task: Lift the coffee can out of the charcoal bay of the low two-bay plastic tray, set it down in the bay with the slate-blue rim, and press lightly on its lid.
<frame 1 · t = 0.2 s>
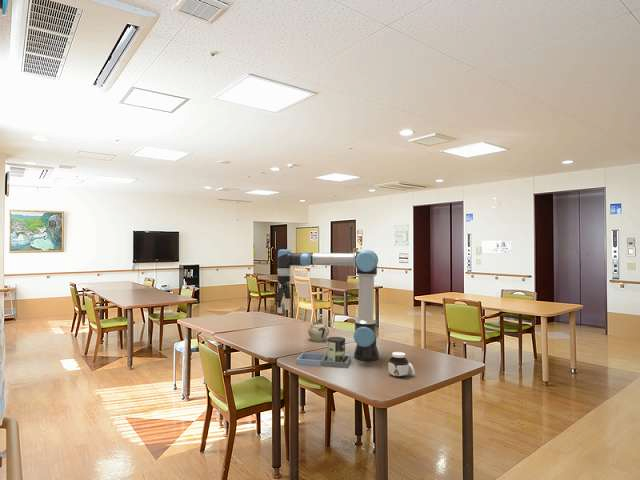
hand: (283, 311, 246), 28 cm above the table, tool pointing down, fingers open, 13 cm apart
sugar bowl: (318, 340, 293), on the table
spread jar: (402, 376, 216), on the table
bay tray: (323, 362, 238), on the table
coffee can: (335, 363, 237), resting in bay tray
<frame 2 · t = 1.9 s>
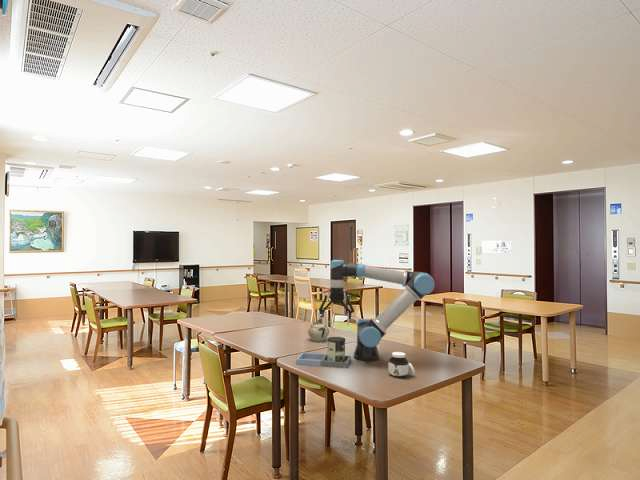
hand: (336, 324, 237), 22 cm above the table, tool pointing down, fingers open, 13 cm apart
nothing on the table moved.
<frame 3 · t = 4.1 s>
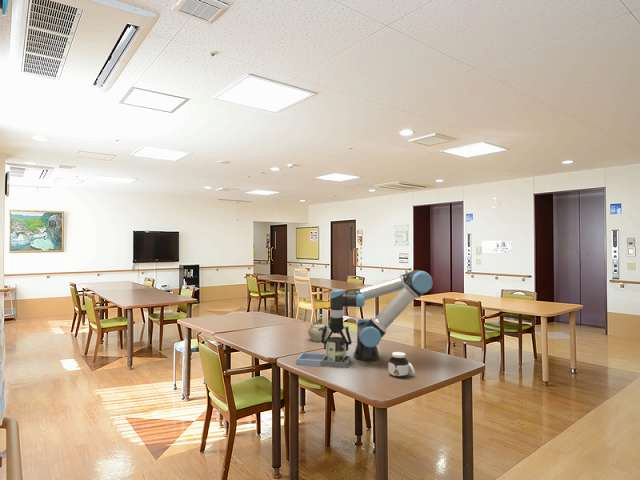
hand: (336, 355, 237), 4 cm above the table, tool pointing down, fingers closed on coffee can, 10 cm apart
coffee can: (335, 363, 237), resting in bay tray, touching gripper
everything else where it was.
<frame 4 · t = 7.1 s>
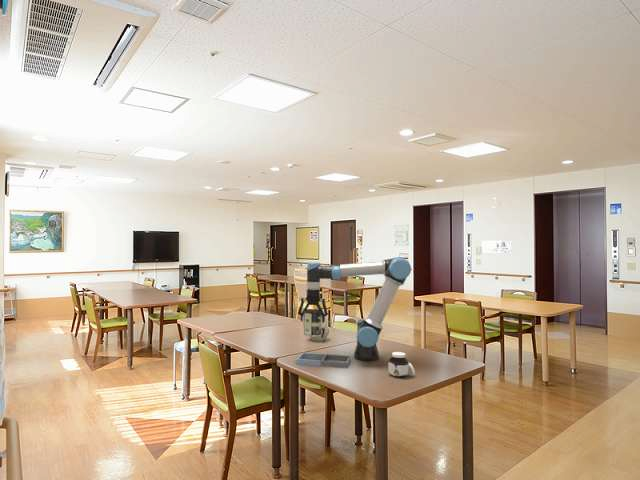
hand: (312, 327, 240), 20 cm above the table, tool pointing down, fingers closed on coffee can, 10 cm apart
coffee can: (312, 335, 240), point 15 cm above the table, touching gripper
everything else where it was.
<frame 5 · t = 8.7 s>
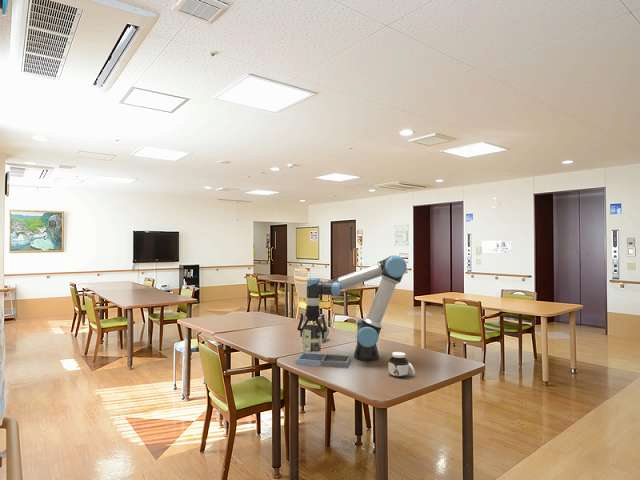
hand: (312, 343, 240), 10 cm above the table, tool pointing down, fingers closed on coffee can, 10 cm apart
coffee can: (311, 351, 240), point 6 cm above the table, touching gripper
everything else where it was.
when the fingers open (6 cm above the table, at t = 10.2 s): coffee can drops 1 cm, resting in bay tray.
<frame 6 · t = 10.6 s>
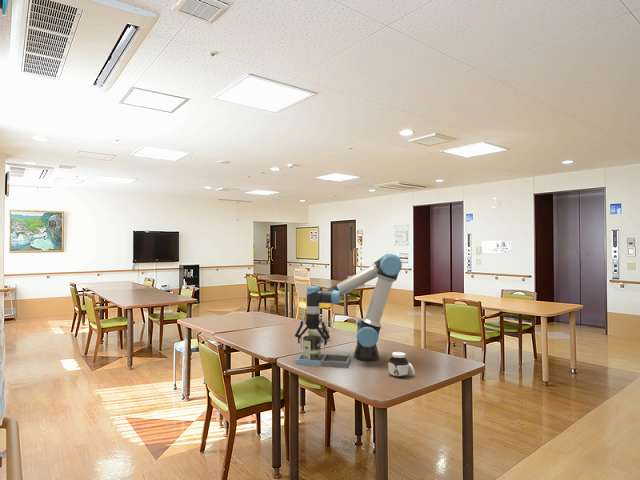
hand: (312, 349, 240), 7 cm above the table, tool pointing down, fingers open, 13 cm apart
coffee can: (311, 362, 239), resting in bay tray
everything else where it was.
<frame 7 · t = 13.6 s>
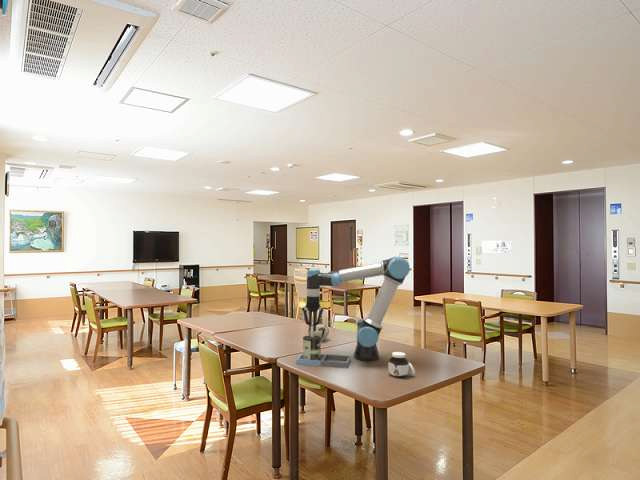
hand: (312, 336, 240), 14 cm above the table, tool pointing down, fingers closed
coffee can: (311, 362, 239), resting in bay tray, touching gripper
everything else where it was.
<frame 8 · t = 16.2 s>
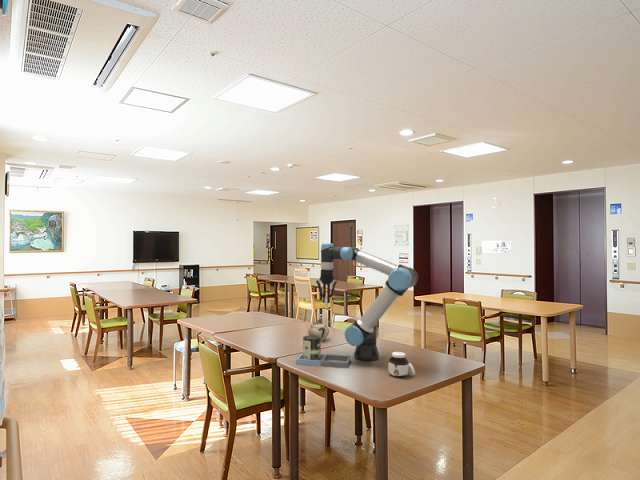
hand: (326, 308, 249), 29 cm above the table, tool pointing down, fingers closed
coffee can: (311, 362, 239), resting in bay tray
everything else where it was.
at the end: coffee can 0.2 cm from the target spot on the bay tray, point 0.0 cm above the bay tray's base; coffee can tilted 0°; the gripper is holding nothing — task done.
